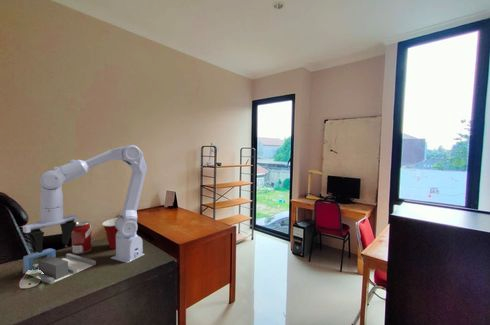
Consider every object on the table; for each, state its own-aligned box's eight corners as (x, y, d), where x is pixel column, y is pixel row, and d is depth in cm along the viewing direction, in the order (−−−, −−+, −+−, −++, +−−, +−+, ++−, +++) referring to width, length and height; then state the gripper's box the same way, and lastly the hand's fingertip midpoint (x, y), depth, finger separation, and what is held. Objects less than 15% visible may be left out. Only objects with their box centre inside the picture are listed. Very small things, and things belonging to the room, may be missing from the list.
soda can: (81, 256, 91) (81, 226, 91) (67, 254, 92) (67, 225, 92) (95, 249, 98) (95, 221, 97) (82, 247, 99) (82, 220, 99)
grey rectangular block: (68, 274, 76) (68, 261, 76) (56, 279, 73) (55, 265, 73) (50, 268, 80) (50, 255, 80) (38, 273, 77) (38, 260, 77)
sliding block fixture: (95, 265, 83) (95, 248, 83) (50, 285, 70) (50, 265, 70) (68, 257, 90) (68, 241, 89) (23, 274, 77) (22, 256, 77)
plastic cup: (99, 247, 100) (99, 220, 99) (126, 240, 107) (125, 215, 107) (106, 255, 92) (105, 225, 92) (134, 247, 100) (134, 220, 99)
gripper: (68, 201, 84) (69, 238, 84) (17, 210, 71) (18, 254, 71) (81, 203, 81) (81, 241, 81) (29, 212, 68) (30, 258, 68)
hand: (53, 247), depth 76 cm, fingers open, 7 cm apart
